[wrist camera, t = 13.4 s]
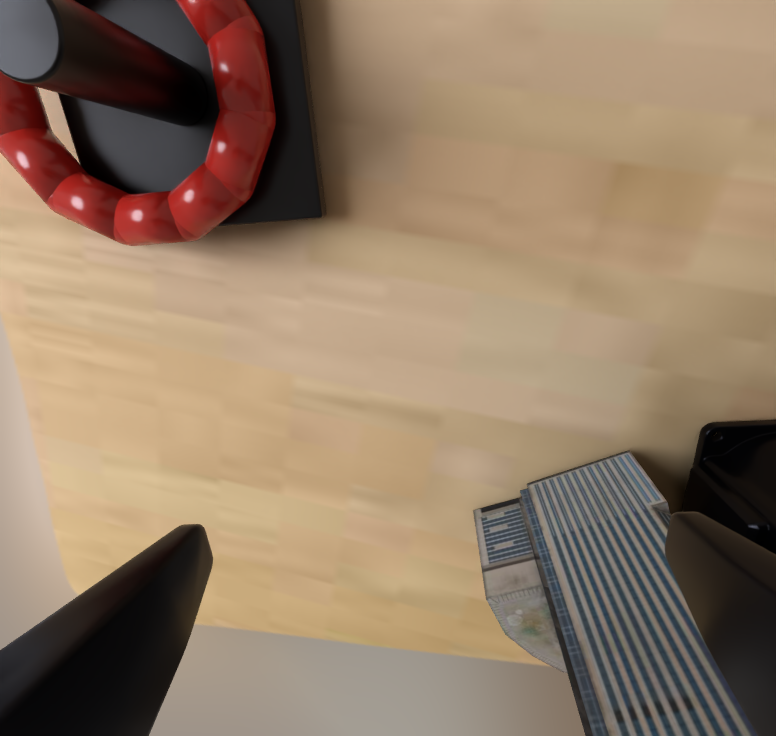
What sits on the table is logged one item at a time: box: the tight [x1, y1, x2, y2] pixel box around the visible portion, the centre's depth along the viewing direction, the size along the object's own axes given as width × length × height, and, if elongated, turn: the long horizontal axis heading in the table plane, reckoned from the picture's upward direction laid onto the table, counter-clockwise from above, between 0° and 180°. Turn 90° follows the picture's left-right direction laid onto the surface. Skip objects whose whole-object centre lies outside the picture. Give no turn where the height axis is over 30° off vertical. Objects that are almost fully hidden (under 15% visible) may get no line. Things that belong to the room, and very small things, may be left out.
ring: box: [0, 0, 276, 246], centre depth 15 cm, size 10×10×2 cm
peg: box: [0, 0, 326, 226], centre depth 13 cm, size 9×9×8 cm
